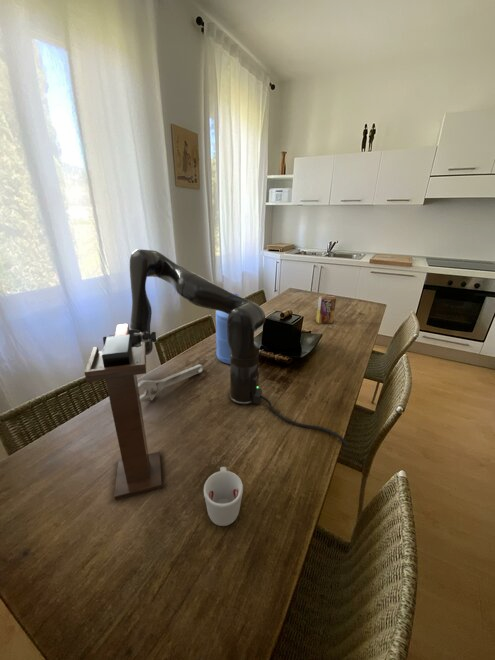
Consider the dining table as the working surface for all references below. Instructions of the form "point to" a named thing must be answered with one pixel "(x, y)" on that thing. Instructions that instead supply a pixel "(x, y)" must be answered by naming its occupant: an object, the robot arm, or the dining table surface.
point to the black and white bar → (117, 348)
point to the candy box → (326, 309)
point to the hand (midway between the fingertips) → (128, 337)
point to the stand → (128, 422)
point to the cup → (223, 496)
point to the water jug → (222, 337)
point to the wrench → (165, 382)
